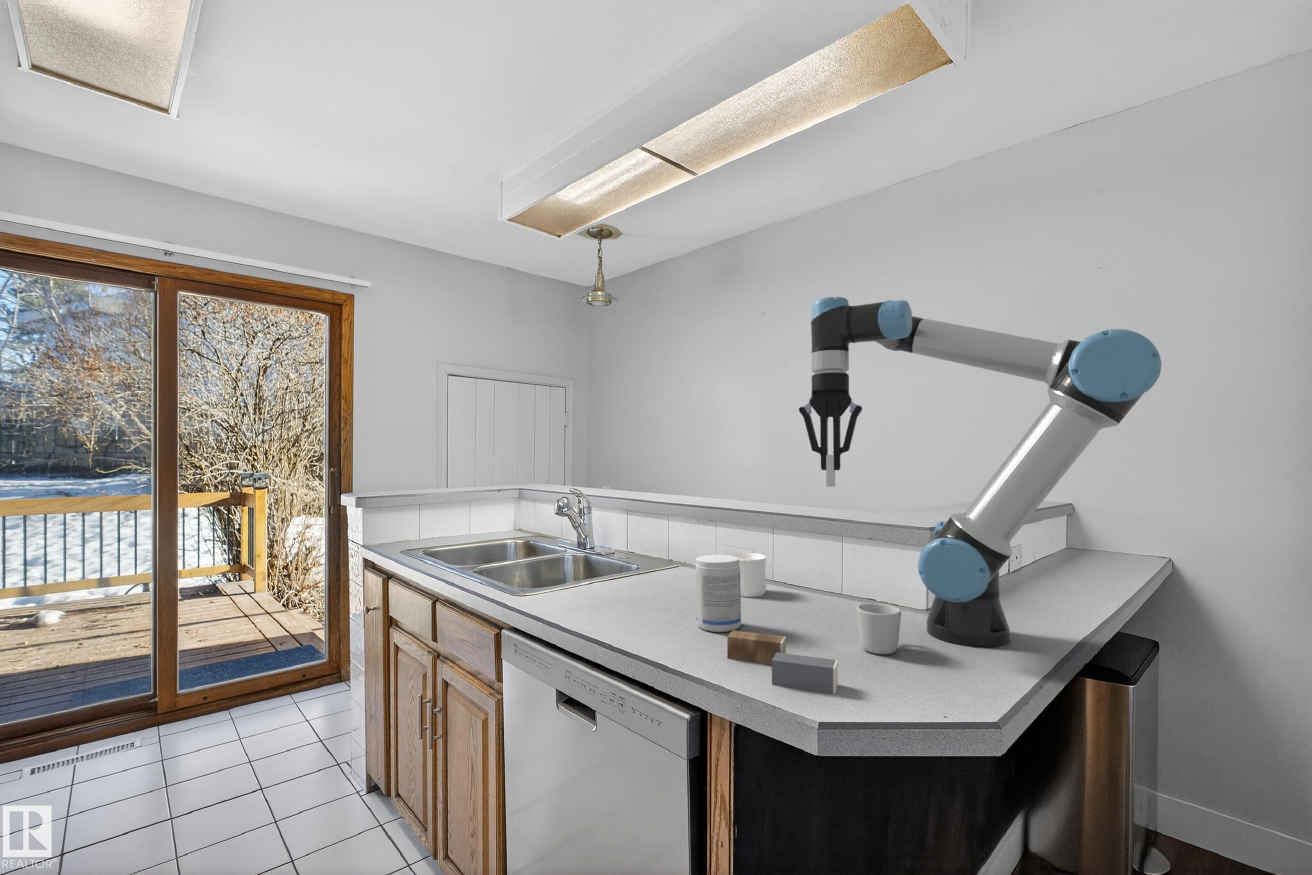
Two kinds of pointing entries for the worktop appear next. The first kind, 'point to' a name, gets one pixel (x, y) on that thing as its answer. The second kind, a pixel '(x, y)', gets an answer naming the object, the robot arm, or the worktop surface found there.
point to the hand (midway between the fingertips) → (830, 486)
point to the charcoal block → (805, 672)
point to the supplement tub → (718, 593)
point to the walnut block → (754, 646)
